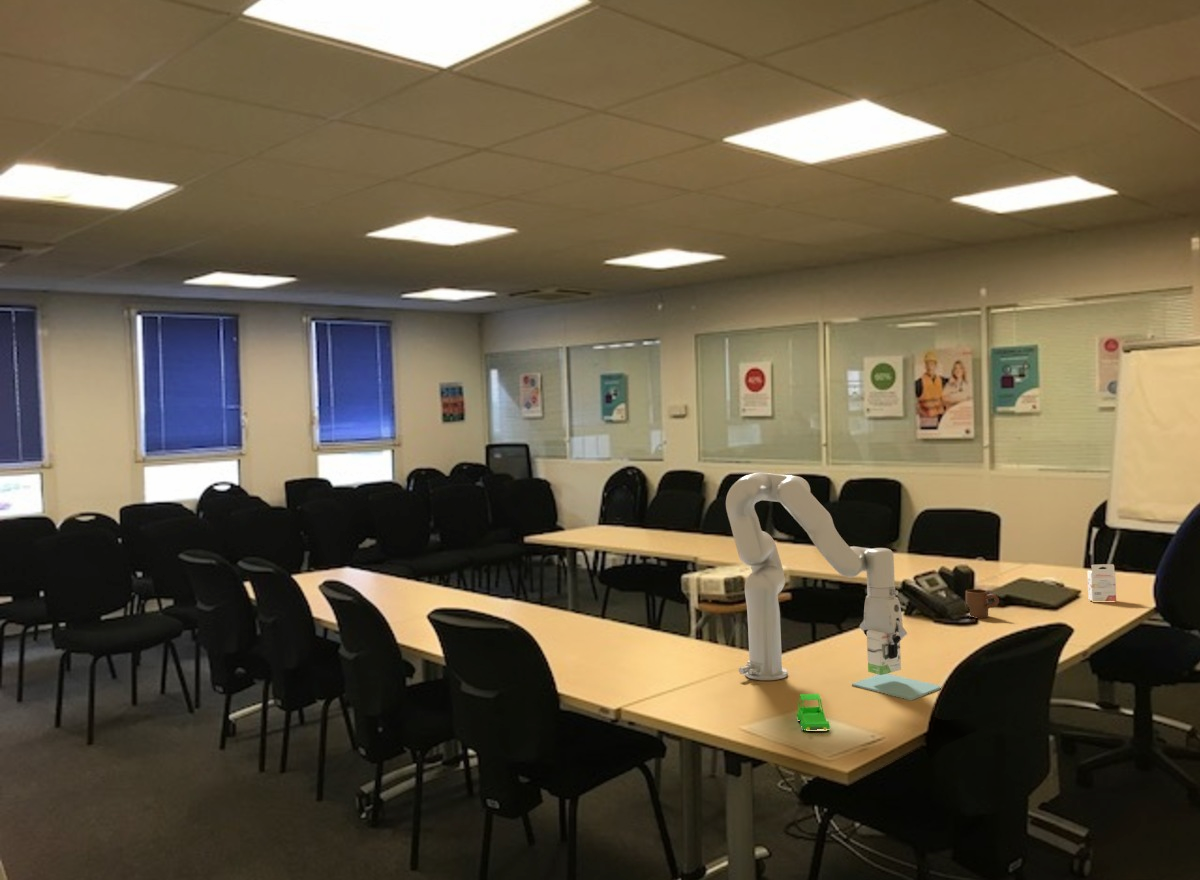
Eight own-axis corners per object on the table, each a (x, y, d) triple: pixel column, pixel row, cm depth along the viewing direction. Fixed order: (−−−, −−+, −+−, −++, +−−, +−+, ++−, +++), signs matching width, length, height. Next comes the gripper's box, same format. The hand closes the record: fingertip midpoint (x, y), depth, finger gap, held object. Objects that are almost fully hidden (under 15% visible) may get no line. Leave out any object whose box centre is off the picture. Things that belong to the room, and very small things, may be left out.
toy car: (796, 719, 236) (795, 693, 236) (822, 718, 236) (821, 692, 235) (802, 734, 225) (801, 707, 225) (830, 733, 225) (829, 707, 224)
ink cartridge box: (1111, 600, 354) (1110, 562, 354) (1116, 603, 349) (1115, 564, 349) (1087, 600, 356) (1086, 562, 355) (1092, 603, 351) (1091, 564, 350)
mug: (1004, 618, 333) (1003, 592, 333) (993, 621, 328) (993, 595, 328) (972, 613, 342) (971, 588, 342) (962, 617, 338) (961, 591, 337)
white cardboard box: (880, 675, 257) (879, 633, 257) (867, 672, 261) (865, 630, 261) (902, 670, 261) (900, 628, 261) (888, 666, 266) (886, 625, 265)
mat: (911, 700, 246) (911, 698, 246) (851, 685, 261) (851, 683, 261) (942, 688, 255) (942, 686, 255) (883, 674, 270) (883, 672, 270)
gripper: (915, 593, 256) (918, 658, 257) (863, 586, 270) (866, 648, 270) (899, 598, 252) (902, 664, 252) (847, 590, 265) (850, 653, 266)
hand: (883, 655), depth 261 cm, fingers closed on white cardboard box, 5 cm apart
